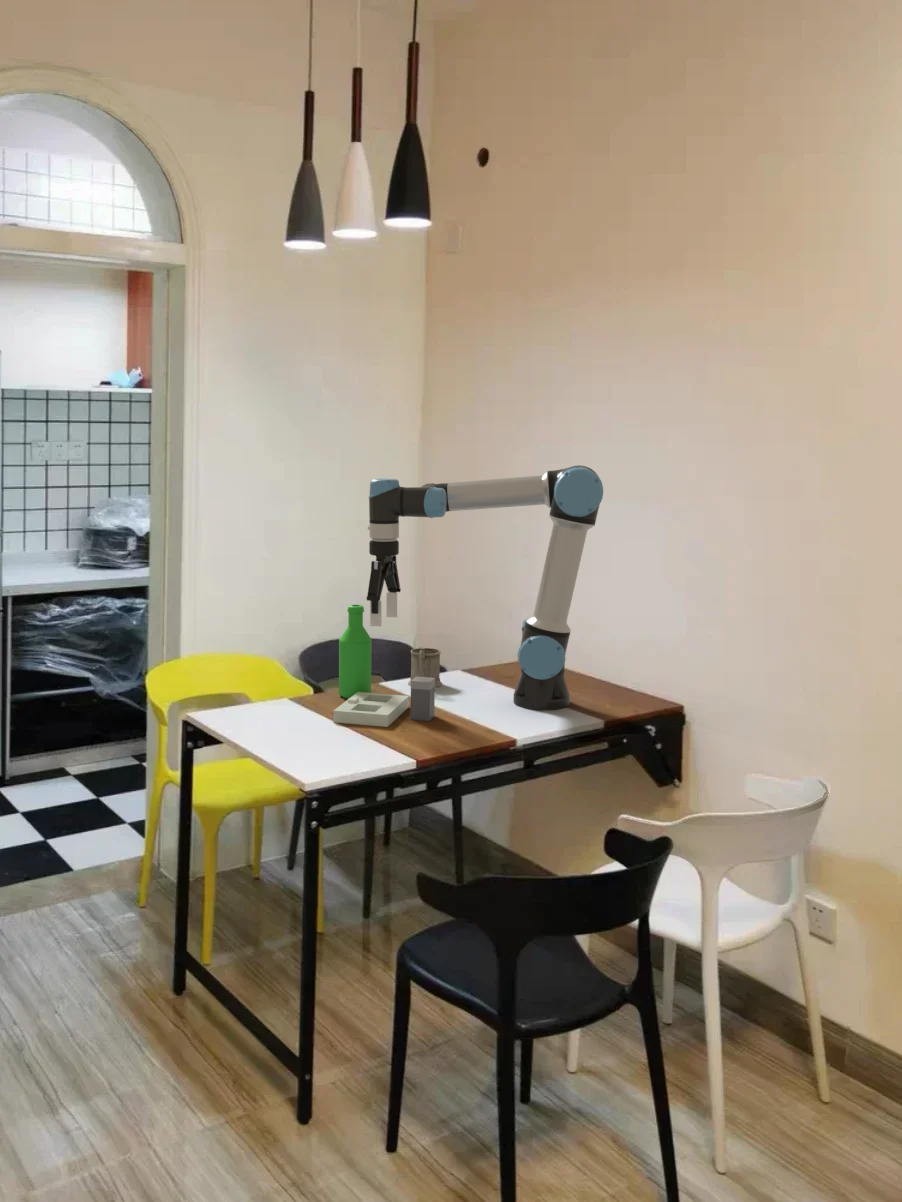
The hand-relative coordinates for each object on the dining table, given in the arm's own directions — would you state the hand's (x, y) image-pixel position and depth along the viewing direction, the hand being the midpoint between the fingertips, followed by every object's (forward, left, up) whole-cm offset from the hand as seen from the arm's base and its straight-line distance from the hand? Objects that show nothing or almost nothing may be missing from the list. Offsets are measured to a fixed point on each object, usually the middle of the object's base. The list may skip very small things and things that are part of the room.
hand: (384, 621), depth 292 cm
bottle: (+11, -10, -23) cm, 27 cm away
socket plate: (+1, +7, -23) cm, 24 cm away
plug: (-12, +6, -23) cm, 27 cm away
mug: (-4, -27, -23) cm, 36 cm away
